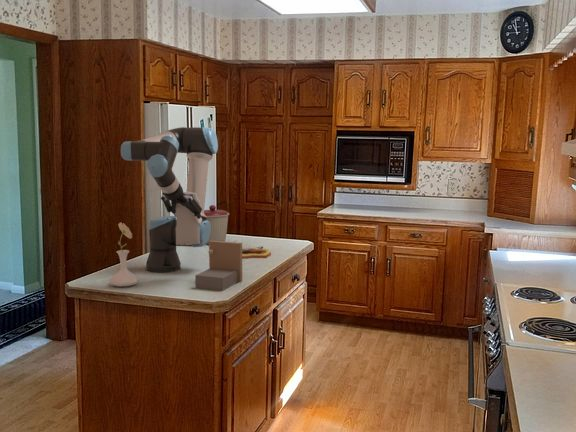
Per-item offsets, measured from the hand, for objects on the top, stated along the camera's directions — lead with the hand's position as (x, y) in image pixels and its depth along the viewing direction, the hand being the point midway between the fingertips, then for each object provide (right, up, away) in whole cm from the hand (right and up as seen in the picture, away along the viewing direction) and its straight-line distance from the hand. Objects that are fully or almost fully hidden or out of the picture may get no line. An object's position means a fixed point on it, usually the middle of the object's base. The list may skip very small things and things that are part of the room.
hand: (191, 221), depth 252 cm
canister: (0, -13, +75) cm, 76 cm away
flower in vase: (-25, -25, -12) cm, 38 cm away
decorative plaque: (+17, -18, +47) cm, 53 cm away
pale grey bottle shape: (-1, -10, -2) cm, 10 cm away
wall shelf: (+12, -25, -12) cm, 31 cm away
